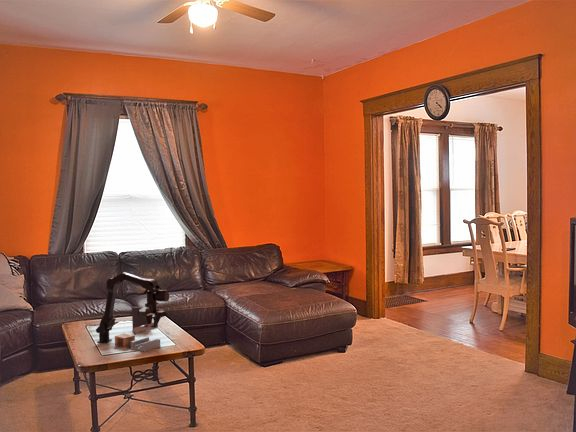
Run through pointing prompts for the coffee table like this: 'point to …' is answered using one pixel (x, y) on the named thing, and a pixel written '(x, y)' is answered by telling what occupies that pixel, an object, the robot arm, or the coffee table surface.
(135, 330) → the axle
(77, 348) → the coffee table surface
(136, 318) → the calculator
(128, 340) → the orange brown notched block
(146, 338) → the v block
